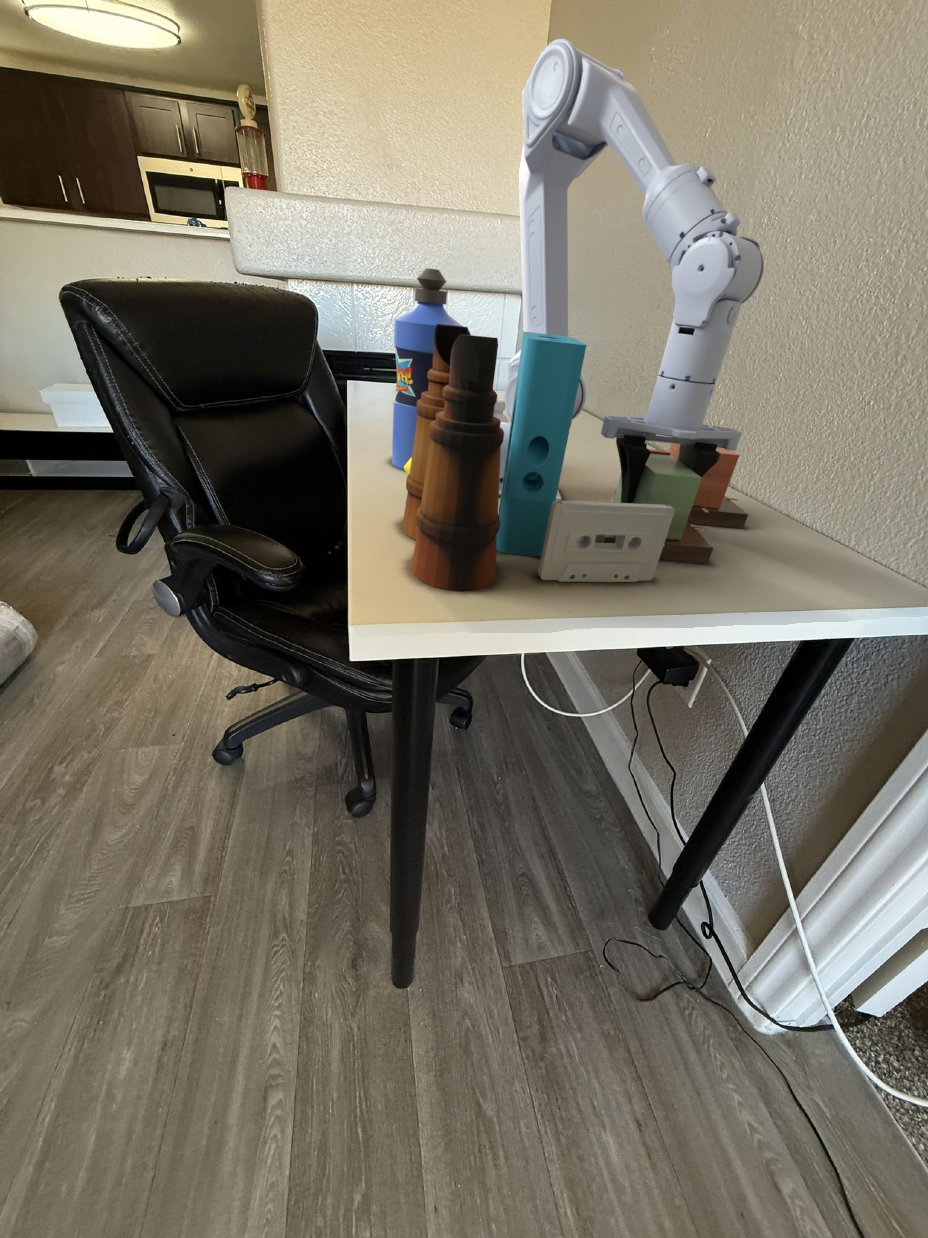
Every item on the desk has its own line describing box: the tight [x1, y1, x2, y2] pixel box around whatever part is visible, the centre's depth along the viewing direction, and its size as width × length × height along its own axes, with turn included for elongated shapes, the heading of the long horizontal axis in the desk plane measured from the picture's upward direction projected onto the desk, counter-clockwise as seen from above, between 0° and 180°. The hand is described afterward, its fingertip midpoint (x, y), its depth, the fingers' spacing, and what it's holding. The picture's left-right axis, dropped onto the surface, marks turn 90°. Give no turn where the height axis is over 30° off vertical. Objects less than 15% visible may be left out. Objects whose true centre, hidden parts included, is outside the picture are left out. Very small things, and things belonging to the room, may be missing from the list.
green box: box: [612, 448, 702, 540], centre depth 59 cm, size 10×5×7 cm, turn 1°
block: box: [496, 331, 587, 557], centre depth 53 cm, size 12×5×20 cm, turn 176°
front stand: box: [584, 500, 714, 565], centre depth 62 cm, size 14×14×2 cm
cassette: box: [537, 500, 675, 583], centre depth 50 cm, size 12×2×8 cm, turn 99°
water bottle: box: [391, 267, 463, 470], centre depth 73 cm, size 9×9×25 cm
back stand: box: [687, 495, 749, 529], centre depth 73 cm, size 14×14×2 cm
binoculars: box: [401, 324, 504, 592], centre depth 49 cm, size 18×8×20 cm, turn 11°
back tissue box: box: [668, 437, 740, 508], centre depth 71 cm, size 10×5×7 cm, turn 179°
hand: (648, 506), depth 60 cm, fingers closed on green box, 5 cm apart
